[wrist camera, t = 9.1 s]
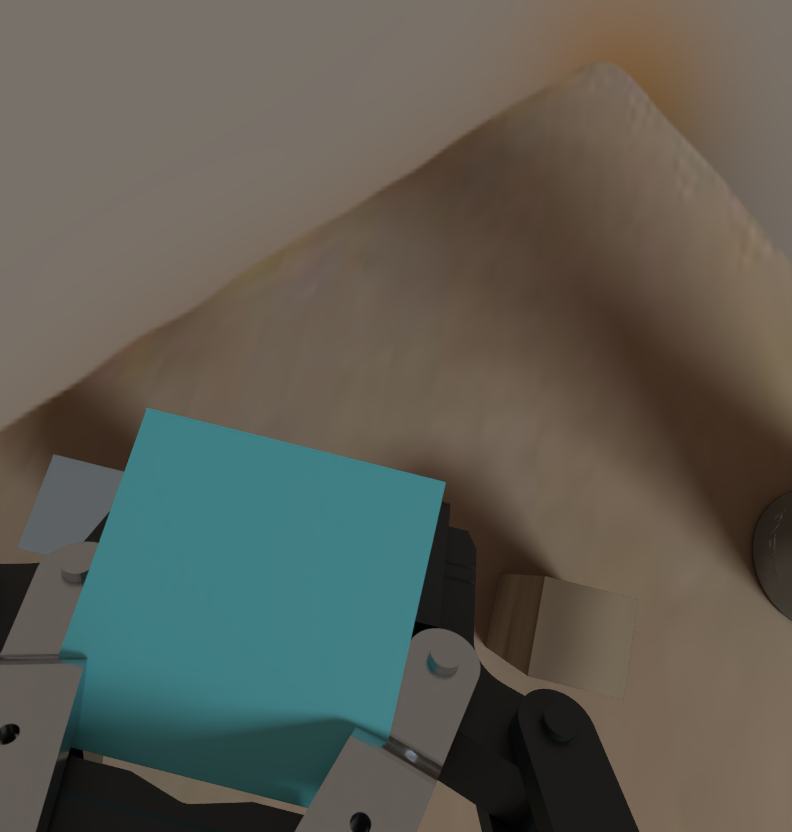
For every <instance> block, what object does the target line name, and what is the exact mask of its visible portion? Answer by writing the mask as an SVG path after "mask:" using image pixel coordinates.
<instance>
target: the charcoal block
mask: <svg viewBox="0 0 792 832" xmlns="http://www.w3.org/2000/svg"><path fill="white" fill-rule="evenodd" d="M123 474H124V472H123V471H119V470H115V469H111V468H107V467H103V466H99V465H95V464H91V463H87V462H83V461H79V460H75V459H71V458H67V457H63V456H59V455H55V454H54V455H53V457H52V460H51V462H50V465H49V467H48V470H47V473H46V475H45V478H44V480H43V483H42V486H41V488H40V491H39V493H38V496H37V498H36V501H35V504H34V506H33V509H32V511H31V514H30V517H29V519H28V522H27V524H26V527H25V529H24V532H23V535H22V537H21V540H20V542H19V545H18V547H17V548H18V549H22V550H26V551H30V552H34V553H38V554H42V555H46V556H47V555H48V554H50V553H51V552H53V551H54V550H56V549H58V548H60V547H62V546H65V545H68V544H72V543H77V542H84V541H85V539H86V538H87V537H88V536H89V535H90V534H91V532H92V531H93V530H94V529H95V528H96V527H97V525H98V524H99V523H100V522H101V521H102V520H103V518H104V517H105V516H106V515H107V514H108V512H109V511H110V510H111V508H112V505H113V502H114V499H115V496H116V494H117V491H118V488H119V485H120V482H121V480H122V477H123Z"/></svg>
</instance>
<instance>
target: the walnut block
mask: <svg viewBox="0 0 792 832" xmlns="http://www.w3.org/2000/svg"><path fill="white" fill-rule="evenodd" d="M637 604H638V599H636V598H632V597H628V596H624V595H620V594H616V593H611V592H607V591H603V590H599V589H595V588H591V587H587V586H583V585H579V584H575V583H571V582H567V581H563V580H559V579H555V578H551V577H547V576H537V575H521V574H505V573H500V575H499V580H498V585H497V590H496V596H495V601H494V606H493V611H492V617H491V622H490V627H489V632H488V637H487V643H486V647H487V648H488V649H490V650H491V651H492V652H494V653H495V654H497V655H498V656H500V657H501V658H503V659H504V660H505V661H507V662H508V663H510V664H511V665H513V666H514V667H516V668H517V669H518V670H520V671H521V672H523V673H524V674H526V675H527V676H530V677H534V678H538V679H542V680H546V681H550V682H554V683H558V684H562V685H566V686H570V687H574V688H578V689H582V690H586V691H590V692H594V693H598V694H602V695H606V696H610V697H614V698H618V699H622V700H625V693H626V686H627V678H628V671H629V664H630V656H631V649H632V641H633V634H634V627H635V619H636V612H637Z"/></svg>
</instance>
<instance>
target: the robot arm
mask: <svg viewBox="0 0 792 832" xmlns="http://www.w3.org/2000/svg"><path fill="white" fill-rule="evenodd" d="M109 513H110V511H109V512H108V514H107V515H106V516H105V517H104V518H103V520H102V521H101V522H100V523H99V524H98V525H97V527H96V528H95V529H94V530H93V531H92V532H91V534H90V535H89V536H88V537H87V538H86V539H85V541H84V542H77V543H72V544H68V545H65V546H62V547H60V548H58V549H56V550H54V551H53V552H51V553H50V554H48V555H47V556H46V557H45V558H44V559H43V560H42V561H41V562H40V563H32V564H0V832H417V829H418V827H419V824H420V822H421V819H422V817H423V815H424V812H425V810H426V807H427V805H428V802H429V800H430V797H431V795H432V793H433V790H434V788H435V785H436V783H437V780H439V781H440V782H442V783H443V784H445V785H446V786H448V787H449V788H451V789H452V790H454V791H456V792H457V793H459V794H460V795H462V796H463V797H465V798H466V799H468V800H469V801H471V802H472V803H474V804H476V808H477V813H478V817H479V821H480V825H481V830H482V832H639V830H638V828H637V825H636V823H635V821H634V818H633V816H632V814H631V811H630V809H629V806H628V804H627V802H626V799H625V797H624V795H623V792H622V790H621V788H620V785H619V783H618V781H617V778H616V776H615V774H614V771H613V769H612V767H611V764H610V762H609V760H608V757H607V755H606V753H605V750H604V748H603V746H602V743H601V741H600V739H599V736H598V734H597V732H596V729H595V727H594V725H593V723H592V721H591V719H590V717H589V716H588V714H587V713H586V711H585V710H584V709H583V708H582V707H581V706H580V705H579V704H578V703H577V702H576V701H574V700H573V699H572V698H570V697H569V696H567V695H565V694H563V693H561V692H558V691H555V690H551V689H538V690H534V691H532V692H530V693H528V694H527V695H526V696H524V695H522V694H520V693H519V692H517V691H515V690H513V689H512V688H510V687H508V686H506V685H505V684H503V683H502V682H500V681H498V680H497V679H496V678H494V677H493V676H492V675H491V674H490V673H489V672H488V671H487V670H486V669H485V668H484V666H483V665H482V664H481V662H480V660H479V658H478V655H477V653H476V651H475V647H474V608H475V573H476V571H475V568H476V548H475V546H474V544H473V541H472V539H471V537H470V535H469V533H468V531H465V530H461V529H457V528H453V527H449V526H448V525H449V514H450V504H449V503H445V502H441V507H440V511H439V516H438V520H437V525H436V529H435V534H434V538H433V543H432V547H431V552H430V556H429V560H428V565H427V569H426V574H425V578H424V583H423V587H422V592H421V596H420V601H419V605H418V610H417V614H416V619H415V623H414V628H413V632H412V637H411V641H410V646H409V650H408V654H407V659H406V663H405V668H404V672H403V677H402V681H401V686H400V690H399V695H398V699H397V704H396V708H395V713H394V717H393V722H392V726H391V731H390V735H389V740H388V741H387V740H385V739H383V738H381V737H379V736H377V735H375V734H373V733H371V732H369V731H367V730H365V729H363V728H361V727H359V726H357V727H356V728H355V729H354V731H353V732H352V734H351V735H350V737H349V739H348V740H347V742H346V744H345V746H344V747H343V749H342V751H341V753H340V754H339V756H338V758H337V759H336V761H335V763H334V765H333V766H332V768H331V770H330V771H329V773H328V775H327V777H326V778H325V780H324V782H323V784H322V785H321V787H320V789H319V790H318V792H317V794H316V796H315V797H314V799H313V801H312V803H311V804H310V806H309V808H308V809H307V811H306V813H305V815H301V814H298V813H294V812H290V811H286V810H282V809H278V808H274V807H270V806H266V805H262V804H258V803H254V802H244V803H212V804H186V803H182V802H180V801H178V800H176V799H175V798H173V797H172V796H170V795H168V794H167V793H165V792H163V791H162V790H160V789H159V788H157V787H155V786H154V785H152V784H151V783H149V782H147V781H146V780H144V779H142V778H141V777H139V776H138V775H136V774H134V773H133V772H131V771H128V770H124V769H121V768H117V767H113V766H109V765H105V764H102V763H103V755H99V754H95V753H92V752H88V751H84V750H80V749H76V748H72V747H71V745H72V742H73V740H74V738H75V736H76V734H77V733H78V730H79V723H80V715H81V707H82V699H83V692H84V684H85V676H86V669H87V661H88V658H81V657H58V655H59V653H60V650H61V647H62V644H63V641H64V639H65V636H66V633H67V630H68V627H69V625H70V622H71V619H72V616H73V614H74V611H75V608H76V605H77V602H78V600H79V597H80V594H81V591H82V588H83V586H84V583H85V580H86V577H87V574H88V572H89V569H90V566H91V563H92V561H93V558H94V555H95V552H96V549H97V547H98V544H99V541H100V538H101V535H102V533H103V530H104V527H105V524H106V521H107V519H108V516H109ZM753 559H754V564H755V569H756V573H757V576H758V578H759V581H760V583H761V585H762V588H763V589H764V591H765V592H766V594H767V596H768V597H769V599H770V600H771V602H772V603H773V604H774V605H775V606H776V607H777V608H778V609H779V610H780V611H781V612H782V613H783V614H784V615H785V616H786V617H788V618H789V619H791V620H792V492H789V493H787V494H785V495H783V496H780V497H779V498H778V499H777V500H775V501H774V502H773V503H771V504H770V505H769V507H768V508H767V509H766V510H765V512H764V513H763V514H762V516H761V518H760V520H759V522H758V524H757V527H756V530H755V535H754V540H753Z"/></svg>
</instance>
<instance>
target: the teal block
mask: <svg viewBox="0 0 792 832" xmlns="http://www.w3.org/2000/svg"><path fill="white" fill-rule="evenodd" d="M445 484H446V482H444V481H440V480H436V479H432V478H428V477H424V476H420V475H416V474H412V473H408V472H404V471H399V470H395V469H391V468H387V467H383V466H379V465H375V464H371V463H367V462H363V461H359V460H355V459H351V458H347V457H343V456H339V455H335V454H331V453H327V452H323V451H319V450H315V449H311V448H307V447H303V446H299V445H295V444H291V443H287V442H283V441H279V440H275V439H271V438H267V437H263V436H259V435H255V434H251V433H247V432H243V431H239V430H235V429H231V428H227V427H223V426H219V425H215V424H211V423H207V422H203V421H199V420H195V419H191V418H187V417H183V416H179V415H175V414H170V413H166V412H162V411H158V410H154V409H150V408H147V410H146V413H145V415H144V418H143V421H142V424H141V427H140V429H139V432H138V435H137V438H136V441H135V443H134V446H133V449H132V452H131V455H130V457H129V460H128V463H127V466H126V468H125V471H124V474H123V477H122V480H121V482H120V485H119V488H118V491H117V494H116V496H115V499H114V502H113V505H112V508H111V510H110V513H109V516H108V519H107V521H106V524H105V527H104V530H103V533H102V535H101V538H100V541H99V544H98V547H97V549H96V552H95V555H94V558H93V561H92V563H91V566H90V569H89V572H88V574H87V577H86V580H85V583H84V586H83V588H82V591H81V594H80V597H79V600H78V602H77V605H76V608H75V611H74V614H73V616H72V619H71V622H70V625H69V627H68V630H67V633H66V636H65V639H64V641H63V644H62V647H61V650H60V653H59V655H58V657H81V658H88V661H87V669H86V676H85V684H84V692H83V699H82V707H81V715H80V723H79V730H78V733H77V734H76V736H75V738H74V740H73V742H72V745H71V747H72V748H76V749H80V750H84V751H88V752H92V753H95V754H99V755H103V756H107V757H111V758H115V759H119V760H123V761H127V762H131V763H134V764H138V765H142V766H146V767H150V768H154V769H158V770H162V771H166V772H170V773H173V774H177V775H181V776H185V777H189V778H193V779H197V780H201V781H205V782H209V783H212V784H216V785H220V786H224V787H228V788H232V789H236V790H240V791H244V792H248V793H252V794H255V795H259V796H263V797H267V798H271V799H275V800H279V801H283V802H287V803H291V804H294V805H298V806H302V807H306V808H309V806H310V804H311V803H312V801H313V799H314V797H315V796H316V794H317V792H318V790H319V789H320V787H321V785H322V784H323V782H324V780H325V778H326V777H327V775H328V773H329V771H330V770H331V768H332V766H333V765H334V763H335V761H336V759H337V758H338V756H339V754H340V753H341V751H342V749H343V747H344V746H345V744H346V742H347V740H348V739H349V737H350V735H351V734H352V732H353V731H354V729H355V728H356V727H357V726H359V727H361V728H363V729H365V730H367V731H369V732H371V733H373V734H375V735H377V736H379V737H381V738H383V739H385V740H387V741H388V740H389V735H390V731H391V726H392V722H393V717H394V713H395V708H396V704H397V699H398V695H399V690H400V686H401V681H402V677H403V672H404V668H405V663H406V659H407V654H408V650H409V646H410V641H411V637H412V632H413V628H414V623H415V619H416V614H417V610H418V605H419V601H420V596H421V592H422V587H423V583H424V578H425V574H426V569H427V565H428V560H429V556H430V552H431V547H432V543H433V538H434V534H435V529H436V525H437V520H438V516H439V511H440V507H441V502H442V498H443V493H444V489H445Z"/></svg>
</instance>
